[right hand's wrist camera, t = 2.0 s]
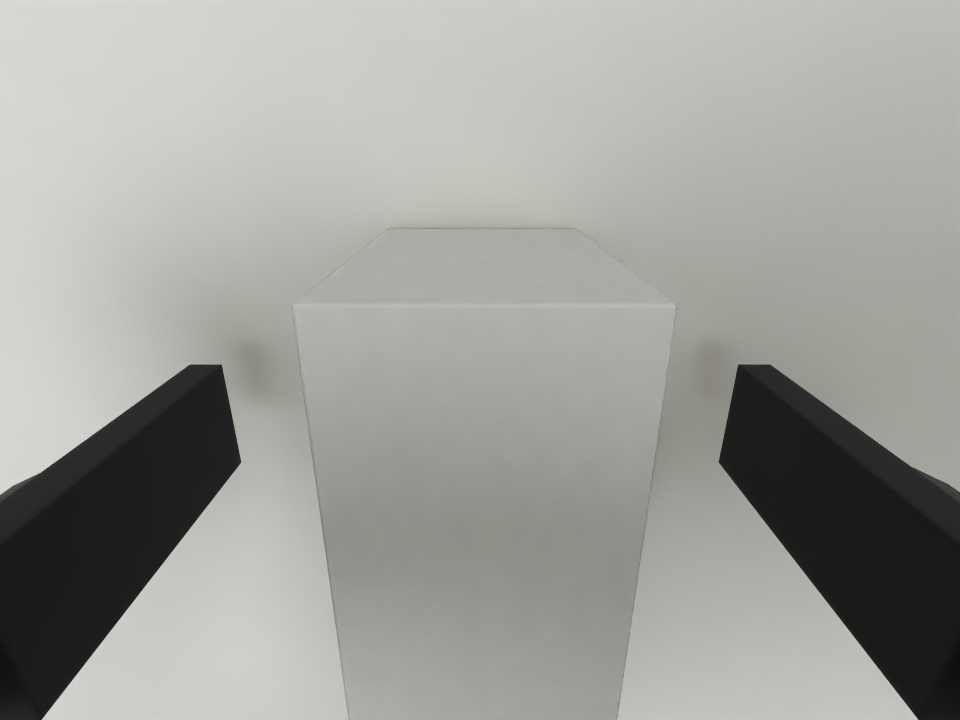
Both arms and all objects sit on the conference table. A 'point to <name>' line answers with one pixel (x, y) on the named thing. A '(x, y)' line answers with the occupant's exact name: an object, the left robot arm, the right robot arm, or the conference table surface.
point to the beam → (483, 468)
